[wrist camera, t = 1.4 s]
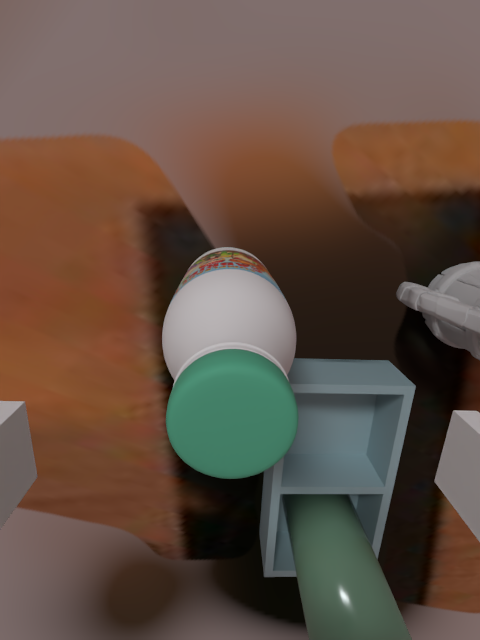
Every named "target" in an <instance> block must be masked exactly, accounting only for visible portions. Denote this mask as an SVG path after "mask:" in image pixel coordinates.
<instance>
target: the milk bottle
mask: <svg viewBox="0 0 480 640" xmlns="http://www.w3.org/2000/svg"><path fill="white" fill-rule="evenodd" d="M162 345H163V352H164V357H165V361H166V364H167V366H168V369H169V371H170V373H171V375H172V377H173V378H174V380H175V381H174V385H173V389H172V392H171V395H170V398H169V402H168V407H167V413H166V426H167V431H168V436H169V439H170V442H171V444H172V446H173V448H174V450H175V451H176V453H177V454H178V455H179V457H180V458H181V459H182V460H183V461H184V462H185V463H187V464H188V465H189V466H191V467H192V468H194V469H195V470H197V471H199V472H201V473H204V474H206V475H209V476H213V477H218V478H226V479H236V478H244V477H249V476H253V475H256V474H259V473H261V472H263V471H265V470H267V469H269V468H271V467H272V466H273V465H275V464H276V463H277V462H279V461H280V460H281V459H282V458H283V457H284V456H285V454H286V453H287V452H288V450H289V449H290V447H291V446H292V444H293V442H294V439H295V437H296V433H297V428H298V418H299V416H298V407H297V403H296V399H295V396H294V392H293V390H292V388H291V385H290V383H289V380H288V377H287V375H288V373H289V371H290V368H291V366H292V363H293V359H294V356H295V350H296V330H295V323H294V319H293V315H292V313H291V310H290V308H289V305H288V303H287V301H286V299H285V297H284V295H283V294H282V292H281V290H280V289H279V287H278V285H277V284H276V282H275V281H274V279H273V278H272V276H271V275H270V273H269V272H268V270H267V269H266V267H265V266H264V265H263V264H262V263H261V262H260V261H259V260H258V259H257V258H256V257H255V256H254V255H252V254H250V253H249V252H247V251H244V250H242V249H238V248H231V247H223V248H217V249H214V250H211V251H208V252H206V253H205V254H203V255H202V256H200V257H199V258H198V259H197V260H196V261H195V262H194V263H193V264H192V265H191V266H190V268H189V269H188V271H187V273H186V274H185V276H184V278H183V280H182V281H181V283H180V285H179V287H178V289H177V291H176V293H175V295H174V296H173V298H172V300H171V303H170V305H169V308H168V311H167V313H166V316H165V320H164V325H163V333H162Z"/></svg>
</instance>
